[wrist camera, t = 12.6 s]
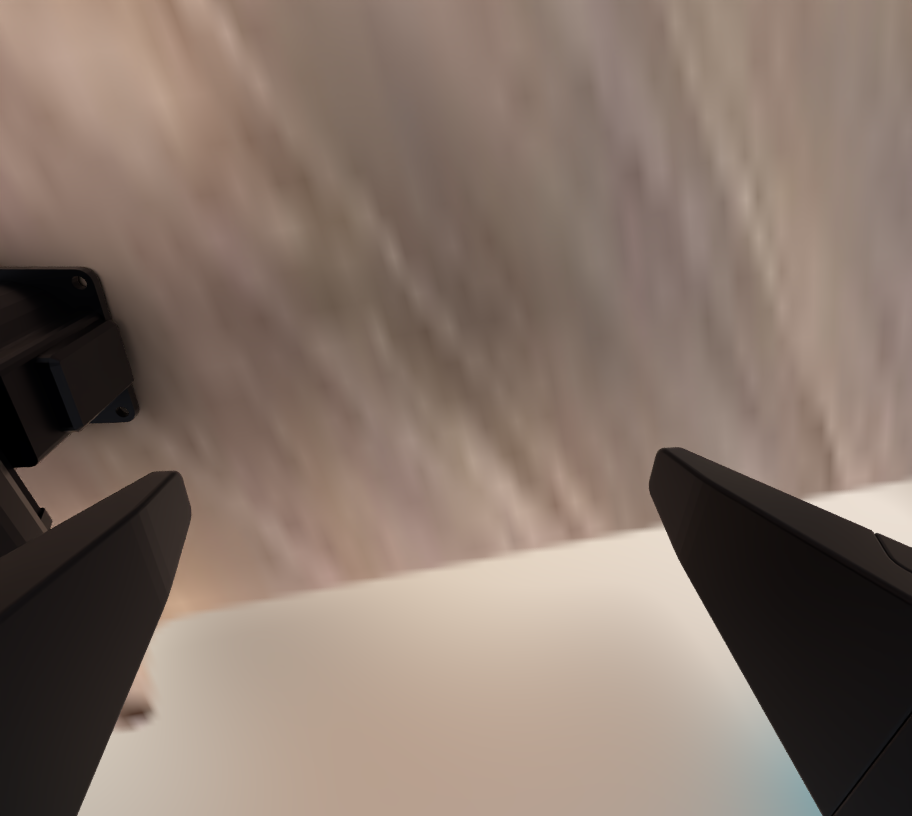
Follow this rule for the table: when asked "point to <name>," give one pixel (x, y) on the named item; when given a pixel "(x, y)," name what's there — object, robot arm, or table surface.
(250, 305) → the table surface
